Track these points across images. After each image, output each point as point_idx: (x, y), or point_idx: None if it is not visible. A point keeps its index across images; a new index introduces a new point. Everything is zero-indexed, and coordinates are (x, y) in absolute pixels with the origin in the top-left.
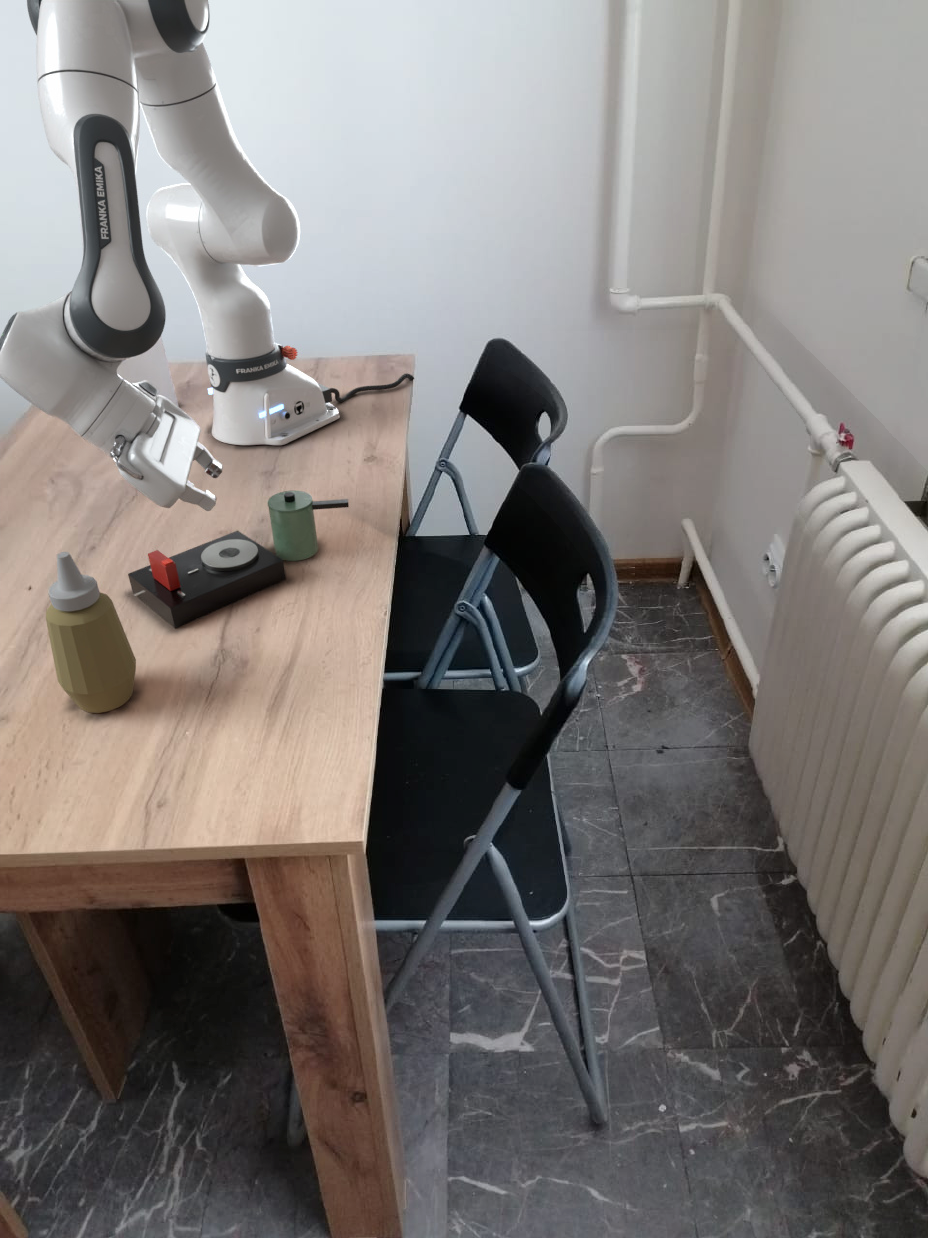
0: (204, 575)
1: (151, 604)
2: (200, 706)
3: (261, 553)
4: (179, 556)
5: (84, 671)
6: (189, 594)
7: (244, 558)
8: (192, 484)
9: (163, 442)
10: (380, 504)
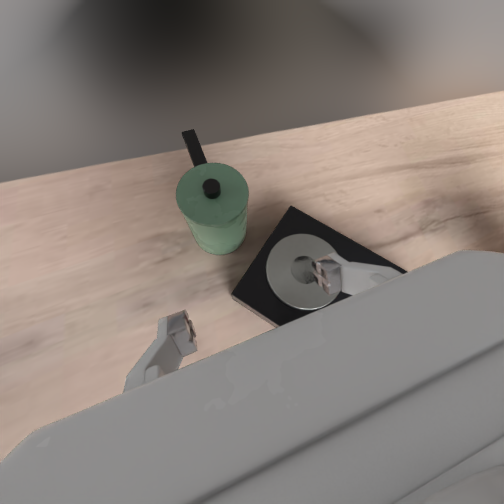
0: None
1: None
2: (495, 213)
3: (284, 235)
4: None
5: None
6: None
7: (312, 244)
8: (376, 277)
9: (389, 419)
10: (92, 176)
